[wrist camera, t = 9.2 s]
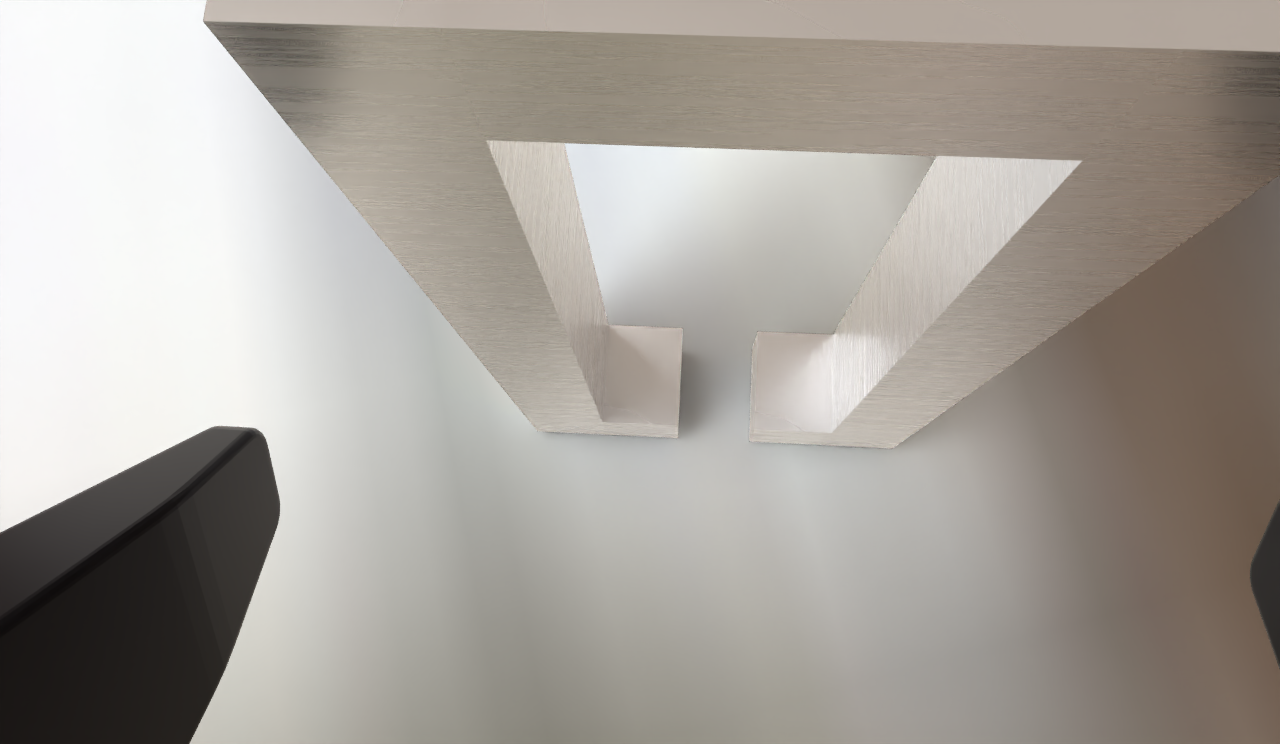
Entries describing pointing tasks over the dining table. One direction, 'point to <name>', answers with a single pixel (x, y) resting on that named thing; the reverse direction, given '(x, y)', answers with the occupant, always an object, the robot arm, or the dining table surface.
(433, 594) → the dining table surface
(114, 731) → the robot arm
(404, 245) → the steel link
